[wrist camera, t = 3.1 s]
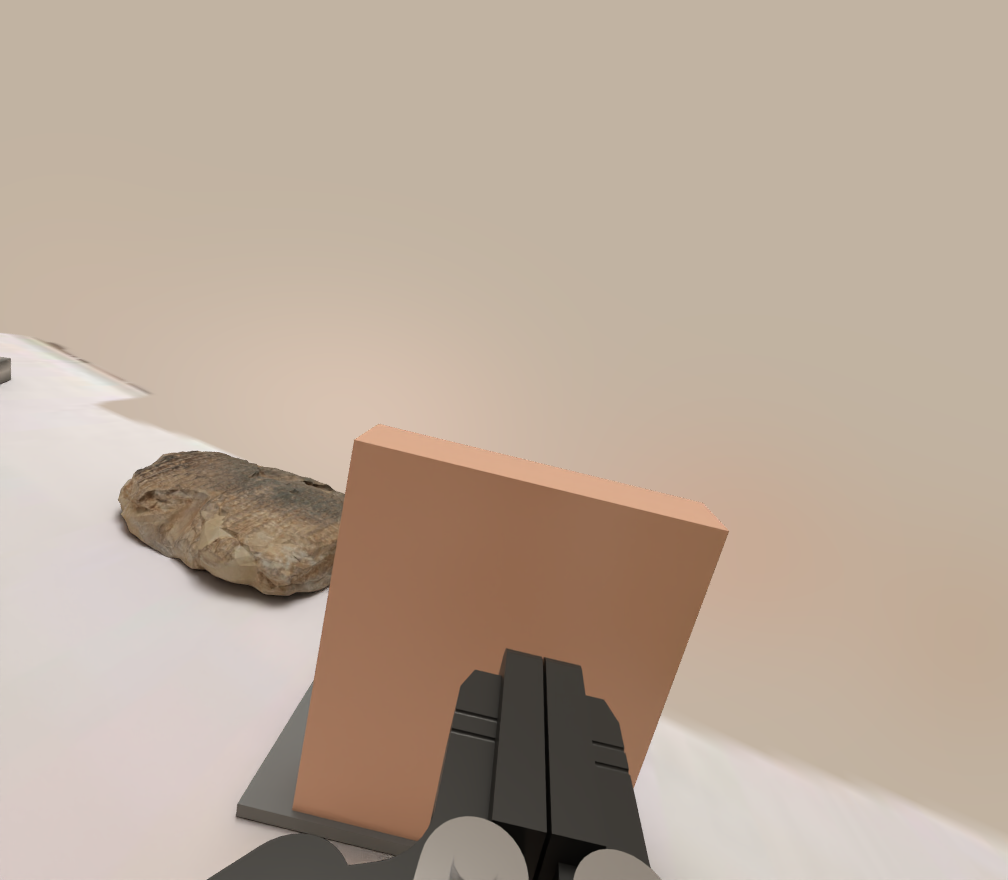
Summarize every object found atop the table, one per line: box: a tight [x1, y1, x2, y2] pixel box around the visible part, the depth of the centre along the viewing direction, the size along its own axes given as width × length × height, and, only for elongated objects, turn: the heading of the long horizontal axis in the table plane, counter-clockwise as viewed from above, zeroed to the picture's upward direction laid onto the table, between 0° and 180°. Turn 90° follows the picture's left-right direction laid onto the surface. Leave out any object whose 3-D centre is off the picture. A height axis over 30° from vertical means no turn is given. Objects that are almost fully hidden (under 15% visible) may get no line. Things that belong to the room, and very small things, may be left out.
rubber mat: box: [236, 681, 417, 856], centre depth 28 cm, size 16×19×1 cm
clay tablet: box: [118, 451, 345, 596], centre depth 39 cm, size 14×5×20 cm
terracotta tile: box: [292, 424, 729, 841], centre depth 19 cm, size 12×3×15 cm, turn 87°
